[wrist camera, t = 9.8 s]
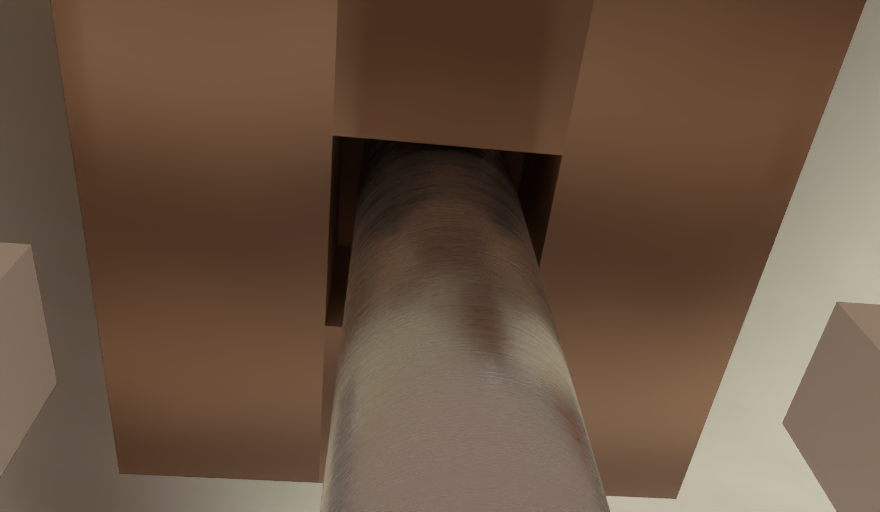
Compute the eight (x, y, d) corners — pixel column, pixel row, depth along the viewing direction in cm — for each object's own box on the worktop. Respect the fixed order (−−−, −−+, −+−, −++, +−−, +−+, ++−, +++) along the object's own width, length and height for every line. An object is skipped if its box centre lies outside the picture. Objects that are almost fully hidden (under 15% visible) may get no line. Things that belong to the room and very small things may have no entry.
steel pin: (492, 227, 19) (636, 921, 7) (358, 216, 19) (279, 923, 7) (514, 99, 18) (751, 728, 6) (367, 84, 17) (282, 719, 5)
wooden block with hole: (627, 374, 24) (676, 498, 20) (173, 347, 23) (119, 473, 18) (773, -114, 17) (899, -87, 13) (126, -194, 16) (21, -194, 11)
